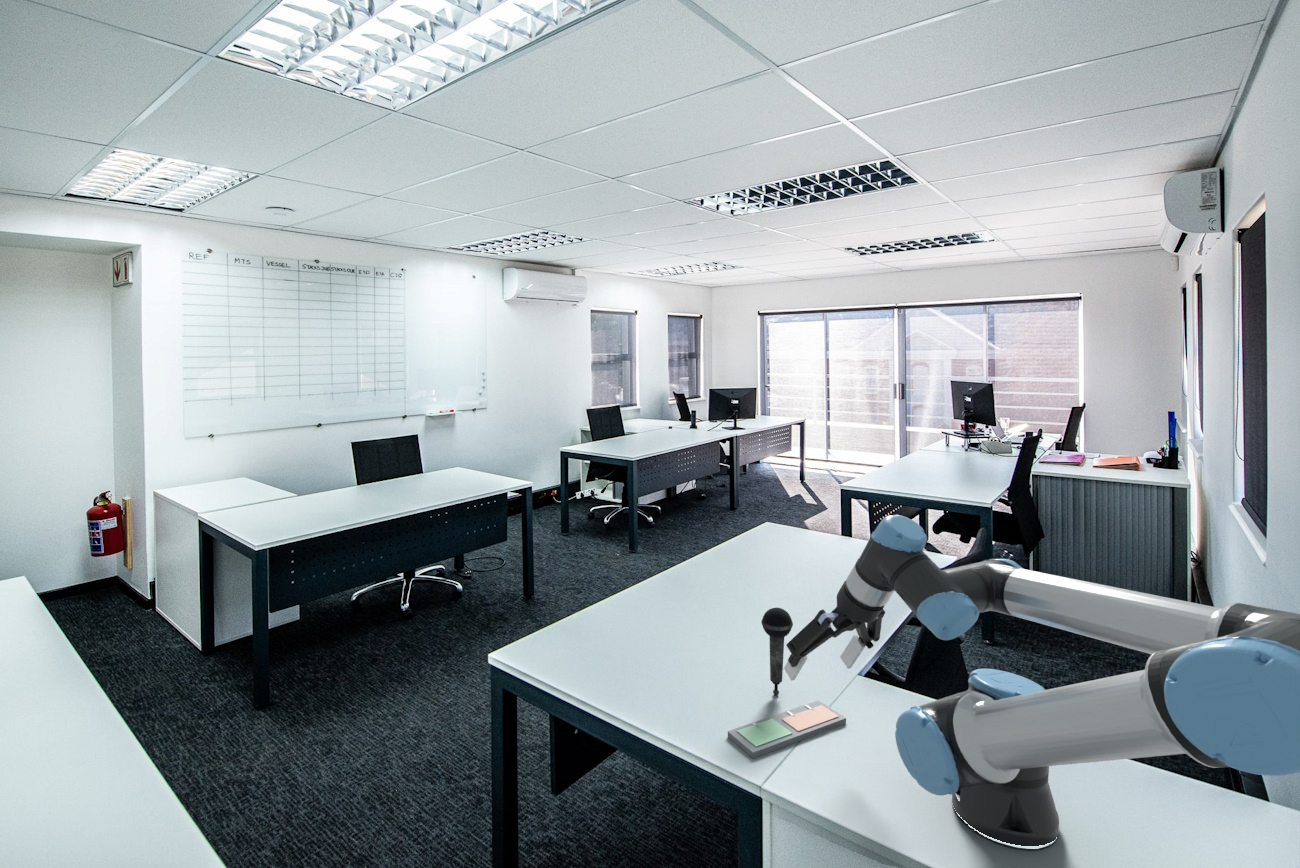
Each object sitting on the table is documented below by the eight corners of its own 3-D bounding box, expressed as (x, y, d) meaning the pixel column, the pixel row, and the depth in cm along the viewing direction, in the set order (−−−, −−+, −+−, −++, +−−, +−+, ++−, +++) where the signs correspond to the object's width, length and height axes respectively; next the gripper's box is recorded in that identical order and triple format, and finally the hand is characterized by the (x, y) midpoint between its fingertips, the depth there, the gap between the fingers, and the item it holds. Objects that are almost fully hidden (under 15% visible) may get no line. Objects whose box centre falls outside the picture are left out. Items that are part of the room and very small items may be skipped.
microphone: (789, 688, 144) (791, 603, 142) (793, 703, 137) (795, 615, 135) (759, 686, 145) (760, 602, 143) (761, 702, 138) (762, 614, 136)
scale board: (846, 723, 129) (846, 717, 129) (752, 758, 118) (753, 751, 118) (818, 705, 136) (818, 699, 136) (727, 736, 125) (727, 730, 125)
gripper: (903, 569, 117) (856, 642, 128) (796, 582, 106) (754, 661, 117) (931, 600, 111) (878, 674, 122) (820, 618, 101) (774, 697, 112)
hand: (817, 668), depth 120 cm, fingers open, 13 cm apart
